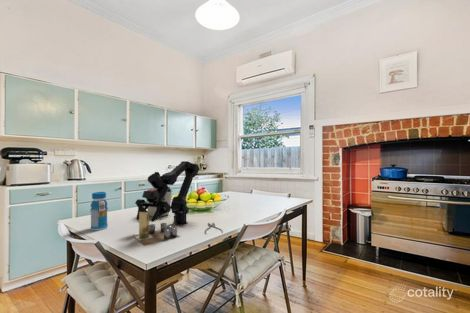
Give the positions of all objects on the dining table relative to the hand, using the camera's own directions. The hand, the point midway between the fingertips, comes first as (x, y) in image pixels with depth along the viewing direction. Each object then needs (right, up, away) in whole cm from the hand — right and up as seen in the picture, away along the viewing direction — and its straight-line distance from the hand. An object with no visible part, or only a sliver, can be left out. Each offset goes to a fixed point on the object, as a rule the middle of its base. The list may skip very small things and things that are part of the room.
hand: (144, 220), depth 112 cm
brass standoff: (0, -8, 0) cm, 8 cm away
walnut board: (+5, -9, +1) cm, 11 cm away
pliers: (+30, -10, +17) cm, 35 cm away
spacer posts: (+8, -8, +3) cm, 12 cm away
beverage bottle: (-32, -10, +18) cm, 38 cm away
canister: (-8, -10, +47) cm, 49 cm away
